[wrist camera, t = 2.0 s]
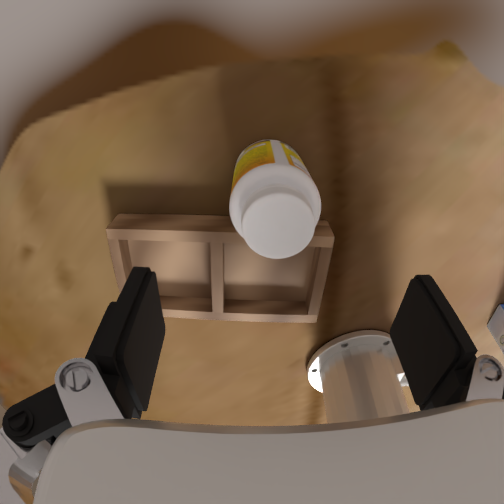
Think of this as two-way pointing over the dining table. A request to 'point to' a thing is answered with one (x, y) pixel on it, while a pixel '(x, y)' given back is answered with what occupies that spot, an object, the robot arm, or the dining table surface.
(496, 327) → the medicine box
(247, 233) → the supplement bottle
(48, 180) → the dining table surface
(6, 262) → the dining table surface
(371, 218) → the dining table surface
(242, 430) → the robot arm
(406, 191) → the dining table surface
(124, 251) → the divided well tray
